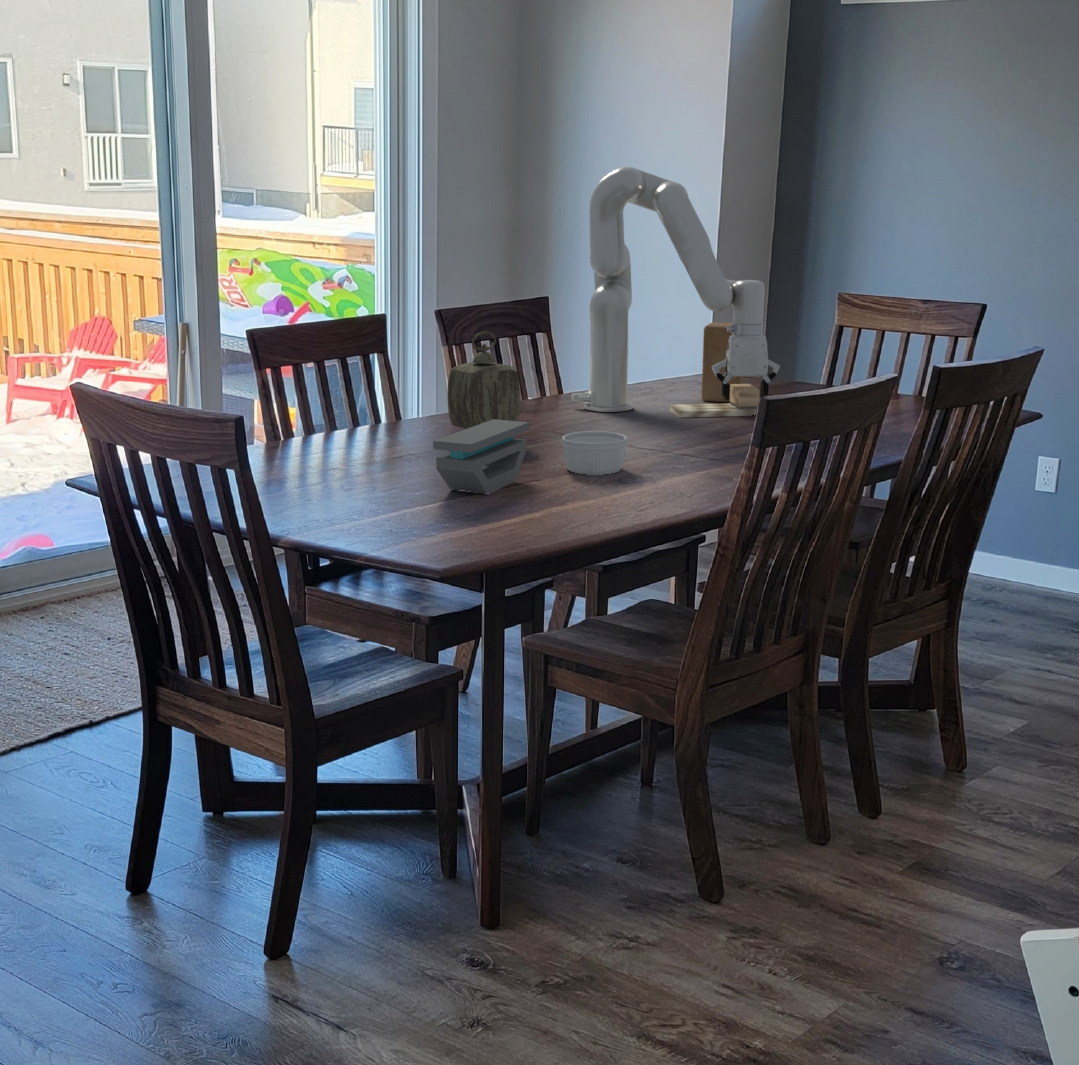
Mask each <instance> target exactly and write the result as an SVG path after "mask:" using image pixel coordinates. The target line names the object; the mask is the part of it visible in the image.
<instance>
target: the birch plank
mask: <svg viewBox="0 0 1079 1065" xmlns="http://www.w3.org/2000/svg"><path fill="white" fill-rule="evenodd" d="M669 411H670V412H672V413H673V414H674V415H675V416H676V417H678V418H702V417H703V418H711V417H713V418H714V417H715V418H716V417H718V418H719V417H746V416H747V417H751V416H752V415H753V414H754V416H753V417H755V414H756V411H757V409H746V410H739V409H737V408H736V407H734V406H733V405H731V404H730V403H729V402H727V403H692V404H691V403H690V404H669Z"/></svg>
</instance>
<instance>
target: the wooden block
mask: <svg viewBox="0 0 1079 1065" xmlns="http://www.w3.org/2000/svg"><path fill="white" fill-rule="evenodd" d="M732 323H733V322H719V321H718V322H715V321H714V322H710V323H708V324H707V325H705V326H704V328H703V339H702V340H703V341H702V344H703V345H702V371H701V372H702V373H701V374H702V376H701V400H702V401H704V402H711V403H712V402H714V403H730V391H729V399H728V400H725V399H724V398H723V396H722V394H721V393H722V382H721V381H720V380H719V379H718V378H717V377H716V376H715V373H714V371H713V369H712V366H713V365H715V364H717V363H719V362H720V361H722V360H724V359H726V351H727V345H728V341H729V337H730V336H732V333H731V332H727V326H731V325H732ZM719 371H720V373H721V374H722V376H724V374H725V373H726V372H725V366H723V367H722V368H720V369H719ZM728 384H729V385H730V384H745V377H732V378H731V379H730V381H729V382H728Z"/></svg>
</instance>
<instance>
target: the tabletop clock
mask: <svg viewBox="0 0 1079 1065" xmlns="http://www.w3.org/2000/svg"><path fill="white" fill-rule="evenodd" d="M482 335H489V336H491V338H493V343H492V344H491V345H489V346H487V344H486V343H483V344H482V345H481V347H477V345H475V341H476V339H477V338H478V337H479V336H482ZM496 344H497V337H496V335H495V333H493V332H491V331H487V330H485V331H480V332H477V333H476V334H475V335H474V336H473V337H472V340H471V345H472V348H473V349H474V350H476V351H479V352H477V353H476V354H475V355H474V357H473V359H472V361H471V362H466V363H461V364H459V365H456V366H454V367H453V368H451V369H450V371H449V376H448V380H447V409H448V417H449V420H450V423H451V425H452V426H454V427H457V428H462V429H464V430H465V429H468V428H471V427H473V426H476V425H479V424H482V423H485V422H487V421H490V420H493V419H497V420H508V421H518V419H519V415H520V405H521V404H520V403H521V399H520V398H521V393H520V392H521V391H520V376H519V374H518V373H519V372H518V371H517V369H515V366H511V365H509V364H502V363H496V362H497V360H496V358H495V356H494V355H493V354H492V353H491V352H488V351H489V350H491V349H493V348H495V345H496Z"/></svg>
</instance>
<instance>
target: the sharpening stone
mask: <svg viewBox="0 0 1079 1065" xmlns="http://www.w3.org/2000/svg"><path fill="white" fill-rule="evenodd" d="M529 430H530V422H529V421H518V420H517V421H508V420H497V419H493V420H490V421H487V422H485V423H482V424H479V425H476V426H473V427H471V428H468V429H465V428H464V429H462V430H460V431H457V432H454V433H451V434H449V435H445V436H443V437H440V438H437V439H434V440H432V449H433V450H439V451H448V452H447V453H444V454H442V455H439V456H436V458H435V460H436V462H435V463H436V464H435V465H436V466H435V467H436V470H437V472H438V473H439V475H440V476H441V477H442V479H443V480H444V483H445V484H446V485H447V487H448V488H449V490H450V489H453V490H465V491H471V492H477V493H491V492H492V491H494V490H497V489H499V488H501V487H503V486H505V485H508V484H510V483H511V482H514V481H516V479H517V476H518V474H519V472H520V469H521V466H522V464H523V462H524V458H525V456H526V454H527V450H528V449H527V448H528V446H527V445H528V442H527V441H528V440H527V439H522V438H515V436H517V435H519V434H522V433H524V432H527V431H529ZM449 451H450V452H449ZM514 483H515V482H514ZM510 485H511V484H510ZM508 486H509V485H508ZM501 489H502V488H501ZM499 490H500V489H499ZM497 491H498V490H497ZM477 493H476V494H477ZM491 494H492V493H491Z"/></svg>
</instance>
